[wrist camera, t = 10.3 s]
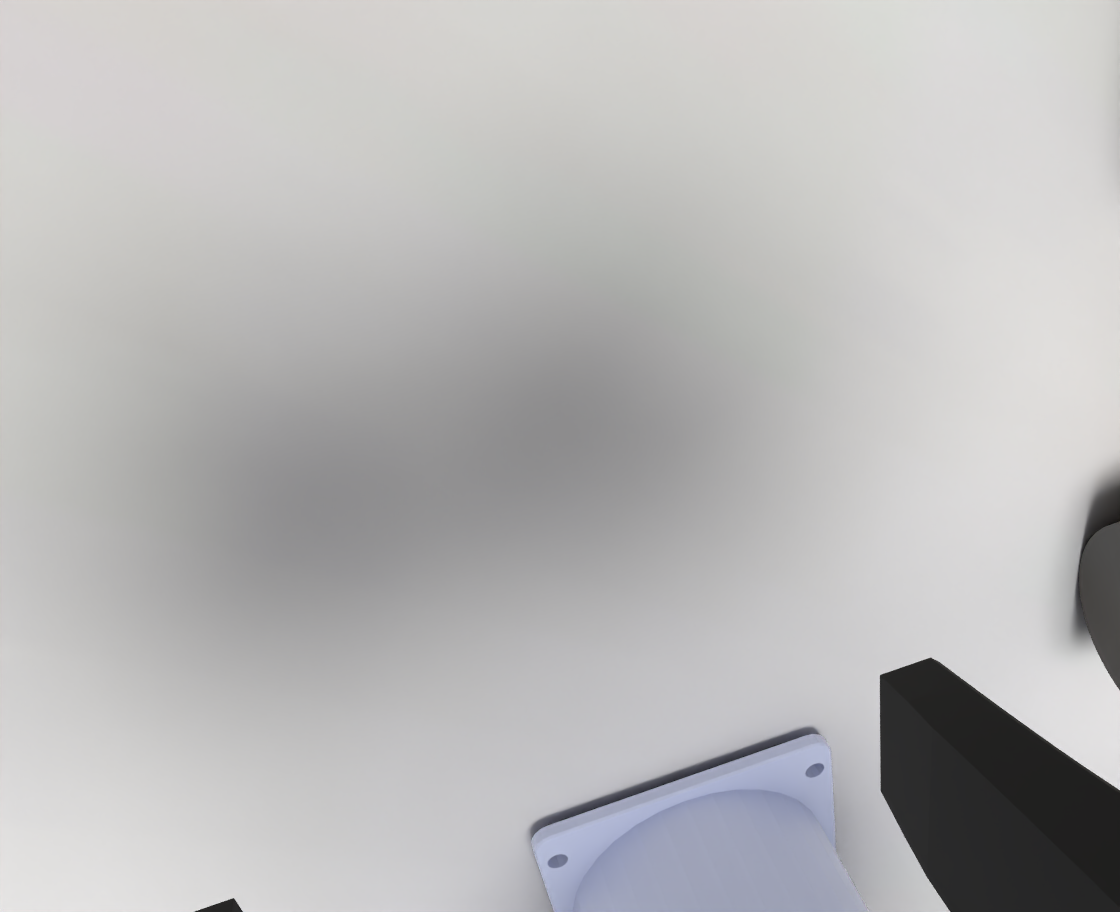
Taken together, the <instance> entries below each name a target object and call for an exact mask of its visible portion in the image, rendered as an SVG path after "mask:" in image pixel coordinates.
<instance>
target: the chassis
mask: <svg viewBox="0 0 1120 912" xmlns="http://www.w3.org/2000/svg"><path fill="white" fill-rule="evenodd" d="M1079 590H1080V598H1081V604H1082V609H1083V613H1084V617H1085V621H1086V624H1087V627H1088V630H1089V633H1090V635H1091V638H1092V641H1093V643H1094V645H1095V648H1096V650H1097V652H1098V654H1099V656H1100V658H1101V660H1102V662H1103V664H1104V666H1105V668H1106V669H1107V671H1108V673H1109V674H1110V676H1111V678H1112V679H1113V681H1114V683H1115V684H1116V685H1117V687H1118V688H1119V690H1120V522H1117V523H1114V524H1111V525H1108V526H1105V527H1103V528H1102V529H1100V530H1099V531H1097V532H1096V533H1095V534H1094V535H1093V536H1092V537H1091V538H1090V540H1089V541H1088V543H1087V545H1086V546H1085V549H1084V551H1083V554H1082V558H1081V562H1080V569H1079Z"/></svg>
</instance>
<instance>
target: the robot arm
mask: <svg viewBox="0 0 1120 912" xmlns="http://www.w3.org/2000/svg"><path fill="white" fill-rule="evenodd" d="M880 750H881V792H882V794H883V796H884V798H885V800H886V802H887V804H888V806H889V807H890V809H891V811H892V813H893V815H894V817H895V819H896V821H897V823H898V825H899V827H900V828H901V830H902V832H903V834H904V836H905V838H906V840H907V842H908V843H909V845H910V847H911V849H912V851H913V852H914V854H915V856H916V858H917V860H918V862H919V863H920V865H921V867H922V869H923V871H924V872H925V874H926V876H927V878H928V879H929V881H930V882H931V884H932V885H933V887H934V888H935V890H936V891H937V893H938V894H939V896H940V897H941V899H942V900H943V902H944V903H945V905H946V906H947V907H948V909H949V910H950V912H1120V790H1118V789H1117V788H1115V787H1114V786H1112V785H1111V784H1109V783H1108V782H1106V781H1105V780H1103V779H1102V778H1100V777H1099V776H1097V775H1096V774H1094V773H1093V772H1091V771H1090V770H1088V769H1087V768H1085V767H1084V766H1082V765H1081V764H1079V763H1078V762H1077V761H1075V760H1074V759H1072V758H1071V757H1069V756H1068V755H1066V754H1065V753H1064V752H1062V751H1061V750H1059V749H1058V748H1056V747H1055V746H1053V745H1052V744H1051V743H1049V742H1048V741H1046V740H1045V739H1044V738H1042V737H1041V736H1039V735H1038V734H1037V733H1035V732H1034V731H1032V730H1031V729H1030V728H1028V727H1027V726H1025V725H1024V724H1023V723H1021V722H1020V721H1018V720H1017V719H1016V718H1014V717H1013V716H1011V715H1010V714H1009V713H1007V712H1006V711H1005V710H1003V709H1002V708H1000V707H999V706H998V705H996V704H995V703H994V702H992V701H991V700H990V699H988V698H987V697H985V696H984V695H983V694H981V693H980V692H979V691H977V690H976V689H975V688H973V687H972V686H971V685H969V684H968V683H967V682H965V681H964V680H963V679H961V678H960V677H959V676H957V675H956V674H955V673H953V672H952V671H951V670H949V669H948V668H946V667H945V666H944V665H942V664H941V663H940V662H938V661H936V660H934V659H932V658H928V659H925V660H922V661H920V662H917V663H914V664H911V665H908V666H905V667H902V668H899V669H896V670H893V671H891V672H888V673H885V674H882V675H880ZM532 847H533V851H534V855H535V858H536V861H537V864H538V866H539V869H540V872H541V875H542V878H543V881H544V884H545V887H546V890H547V893H548V896H549V899H550V902H551V905H552V908H553V911H554V912H870V911H869V910H868V908H867V906H866V904H865V903H864V901H863V899H862V897H861V896H860V894H859V892H858V890H857V888H856V887H855V885H854V883H853V881H852V880H851V878H850V876H849V874H848V873H847V871H846V869H845V867H844V866H843V864H842V862H841V860H840V859H839V857H838V855H837V853H836V839H835V819H834V799H833V779H832V759H831V749H830V746H829V745H828V743H827V741H826V740H825V738H824V737H823V736H821V735H818V734H810V735H805V736H803V737H800V738H797V739H794V740H791V741H788V742H785V743H782V744H780V745H777V746H774V747H771V748H768V749H765V750H762V751H760V752H757V753H754V754H751V755H748V756H745V757H742V758H739V759H737V760H734V761H731V762H728V763H725V764H722V765H719V766H717V767H714V768H711V769H708V770H705V771H702V772H699V773H696V774H694V775H691V776H688V777H685V778H682V779H679V780H676V781H674V782H671V783H668V784H665V785H662V786H659V787H656V788H653V789H651V790H648V791H645V792H642V793H639V794H636V795H633V796H631V797H628V798H625V799H622V800H619V801H616V802H613V803H610V804H608V805H605V806H602V807H599V808H596V809H593V810H590V811H588V812H585V813H582V814H579V815H576V816H573V817H570V818H568V819H565V820H562V821H559V822H556V823H553V824H550V825H547V826H545V827H543V828H541V829H540V830H539V831H537V832H536V833H535V834H534V836H533V838H532ZM195 912H243V911H242V910H241V908H240V907H239V905H238V904H237V902H236V901H235V899H234V898H233V899H230V900H227V901H224V902H221V903H218V904H215V905H212V906H209V907H207V908H204V909H201V910H198V911H195Z"/></svg>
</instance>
